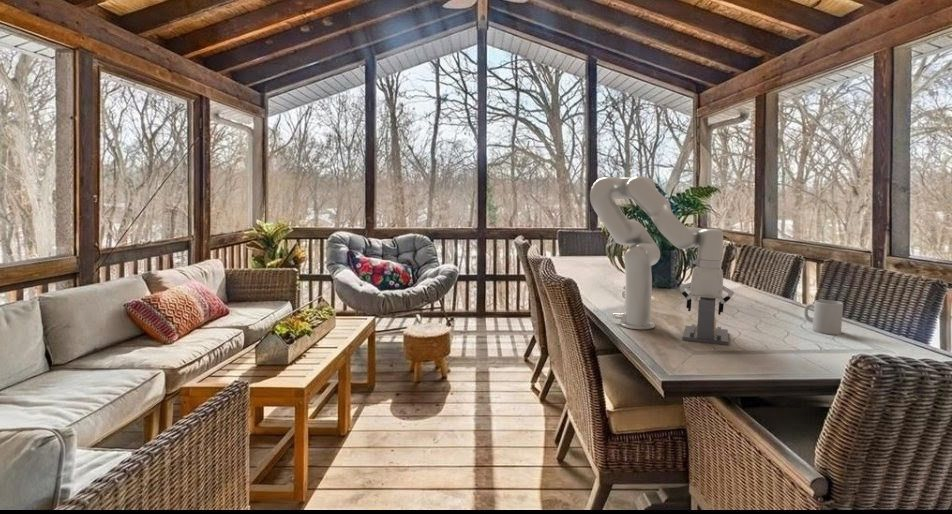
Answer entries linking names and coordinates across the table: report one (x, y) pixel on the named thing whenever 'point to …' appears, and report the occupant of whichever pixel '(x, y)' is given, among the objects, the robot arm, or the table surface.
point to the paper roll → (714, 325)
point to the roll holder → (706, 325)
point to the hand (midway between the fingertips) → (704, 312)
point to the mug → (826, 316)
